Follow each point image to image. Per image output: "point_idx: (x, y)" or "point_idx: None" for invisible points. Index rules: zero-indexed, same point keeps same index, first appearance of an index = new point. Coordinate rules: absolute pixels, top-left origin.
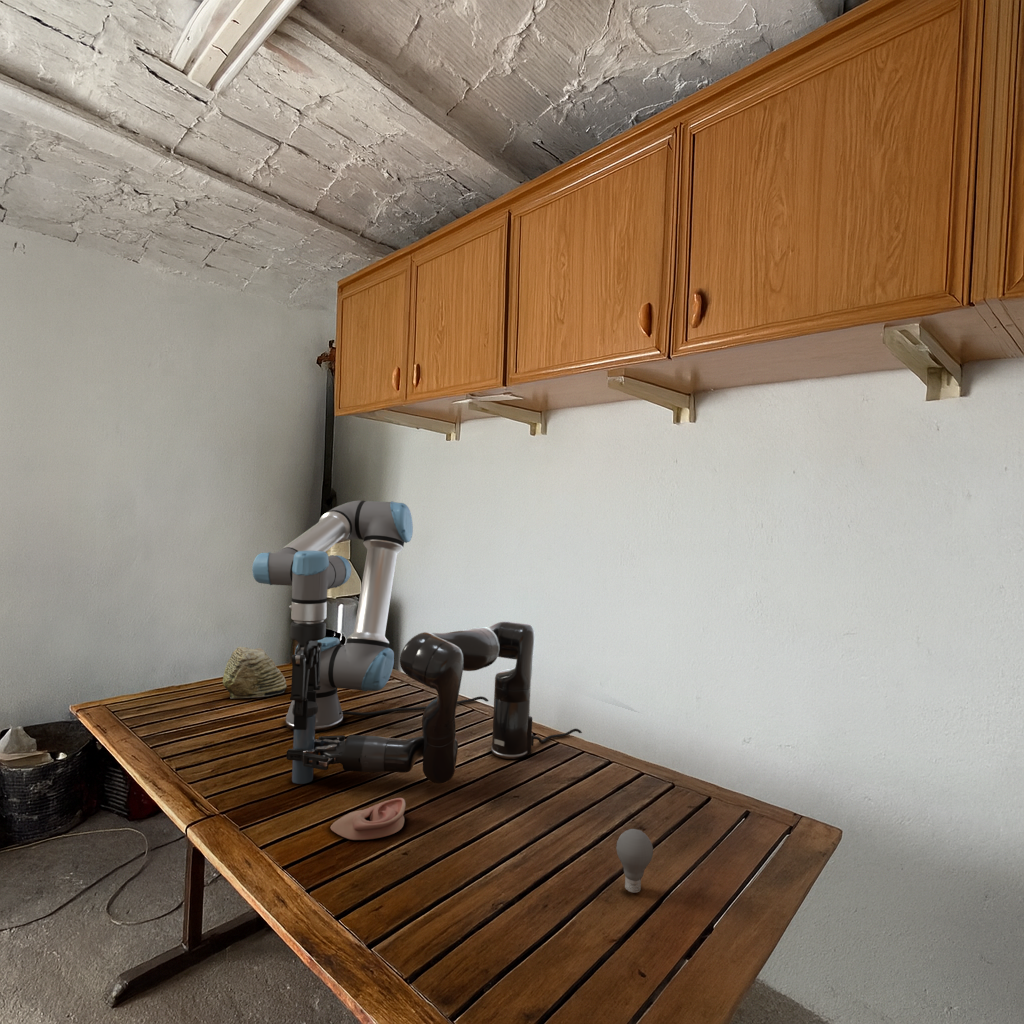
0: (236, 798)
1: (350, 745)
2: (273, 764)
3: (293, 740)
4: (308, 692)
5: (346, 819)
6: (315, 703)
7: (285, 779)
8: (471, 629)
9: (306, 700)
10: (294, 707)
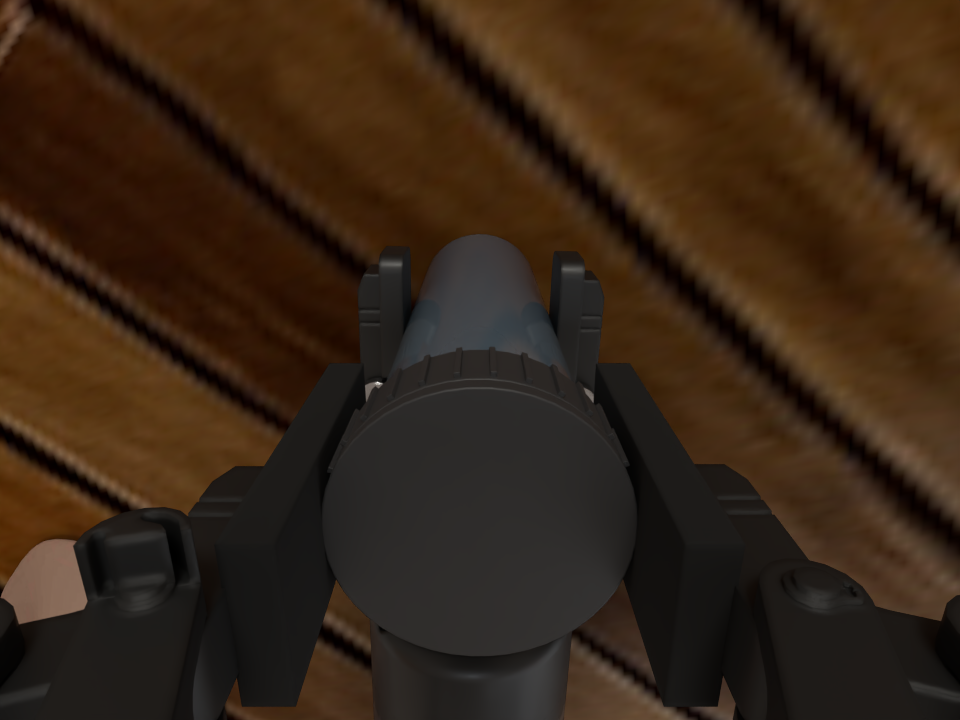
0: (204, 2)
1: (394, 677)
2: (677, 42)
3: (436, 298)
4: (675, 608)
5: (46, 613)
6: (547, 625)
7: (473, 196)
8: None
9: (244, 697)
10: (259, 477)
